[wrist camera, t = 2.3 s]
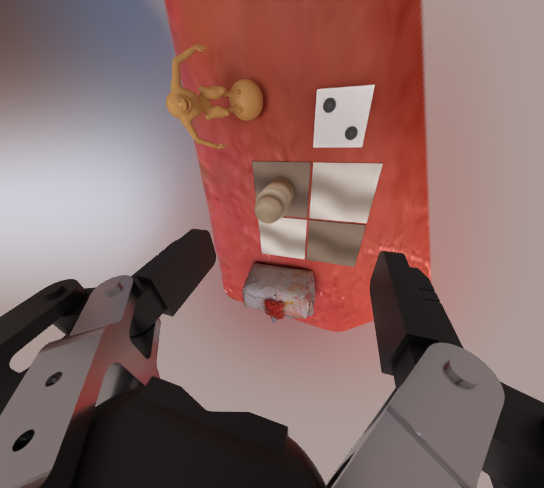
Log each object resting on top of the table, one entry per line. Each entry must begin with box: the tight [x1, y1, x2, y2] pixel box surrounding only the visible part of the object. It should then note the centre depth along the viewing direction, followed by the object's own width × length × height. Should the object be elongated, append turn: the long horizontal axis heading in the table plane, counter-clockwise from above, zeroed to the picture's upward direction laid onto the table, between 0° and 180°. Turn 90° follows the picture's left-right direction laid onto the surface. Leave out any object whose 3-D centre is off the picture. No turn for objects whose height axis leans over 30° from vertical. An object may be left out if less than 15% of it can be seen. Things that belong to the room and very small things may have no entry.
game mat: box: [252, 161, 383, 267], centre depth 32 cm, size 18×18×1 cm
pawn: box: [255, 177, 295, 224], centre depth 27 cm, size 4×4×8 cm
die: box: [313, 85, 375, 148], centre depth 21 cm, size 5×5×5 cm
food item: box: [242, 263, 315, 322], centre depth 38 cm, size 14×8×10 cm, turn 94°
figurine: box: [166, 44, 263, 149], centre depth 20 cm, size 8×6×12 cm
